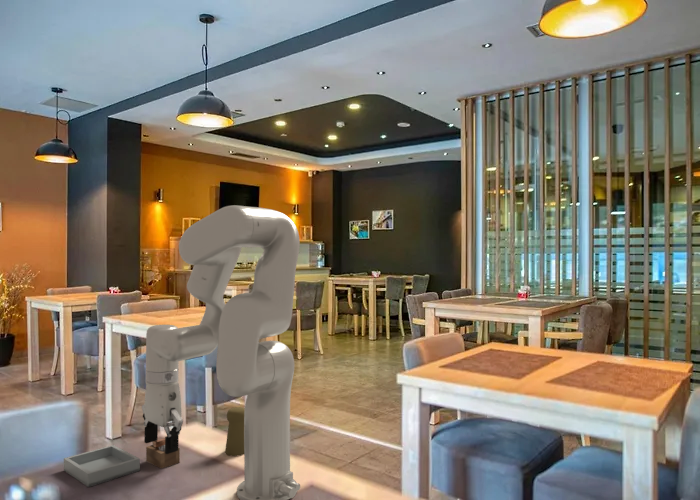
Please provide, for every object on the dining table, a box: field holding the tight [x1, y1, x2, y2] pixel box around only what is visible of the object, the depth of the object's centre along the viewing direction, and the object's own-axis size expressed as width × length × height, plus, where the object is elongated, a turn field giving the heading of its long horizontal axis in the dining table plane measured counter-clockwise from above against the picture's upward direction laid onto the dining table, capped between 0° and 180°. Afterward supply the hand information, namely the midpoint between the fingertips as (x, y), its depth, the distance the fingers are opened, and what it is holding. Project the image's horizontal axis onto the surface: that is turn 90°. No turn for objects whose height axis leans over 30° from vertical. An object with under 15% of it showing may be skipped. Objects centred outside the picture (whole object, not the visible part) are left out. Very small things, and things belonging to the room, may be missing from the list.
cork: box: [224, 406, 245, 457], centre depth 135 cm, size 6×6×11 cm
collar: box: [145, 442, 181, 470], centre depth 128 cm, size 7×5×4 cm
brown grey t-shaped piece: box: [153, 437, 165, 452], centre depth 128 cm, size 2×4×5 cm, turn 139°
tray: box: [63, 444, 141, 488], centre depth 123 cm, size 14×12×3 cm
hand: (161, 446), depth 129 cm, fingers open, 9 cm apart
